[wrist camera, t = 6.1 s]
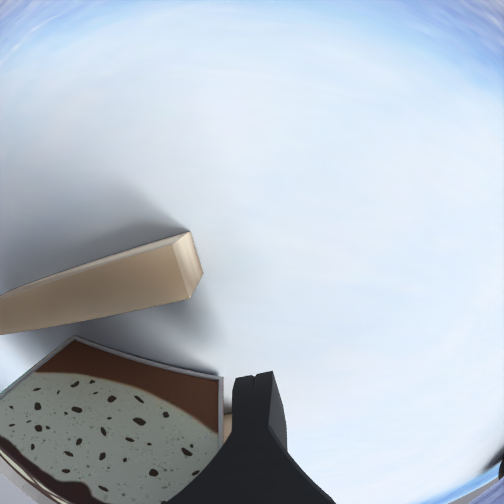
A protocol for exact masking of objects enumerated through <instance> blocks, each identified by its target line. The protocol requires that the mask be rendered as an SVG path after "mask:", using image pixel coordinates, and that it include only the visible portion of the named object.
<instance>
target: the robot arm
mask: <svg viewBox="0 0 504 504" xmlns="http://www.w3.org/2000/svg"><path fill="white" fill-rule="evenodd" d="M164 504H336V503H335V502H334V501H333V499H332V498H331V497H330V496H329V495H328V494H326V493H325V492H324V491H323V490H322V489H321V488H320V487H319V486H318V485H316V484H315V483H314V482H313V481H312V480H311V479H310V478H309V477H308V475H307V474H306V473H305V472H304V471H303V470H302V469H301V468H300V467H299V465H298V464H297V463H296V462H295V461H294V459H293V458H292V457H291V456H290V455H289V453H288V452H287V428H286V421H285V415H284V409H283V404H282V401H281V397H280V394H279V391H278V387H277V384H276V381H275V377H274V374H273V371H270V372H265V373H260V374H257V375H256V376H255V377H254V376H252V375H250V376H244V377H239V378H236V380H235V383H234V386H233V390H232V430H231V433H230V435H229V436H228V438H227V439H226V441H225V442H224V444H223V445H222V447H221V448H220V450H219V451H218V452H217V454H216V455H215V456H214V457H213V459H212V460H211V461H210V462H209V464H208V465H207V466H206V467H205V468H204V469H203V470H202V471H201V472H200V473H199V474H198V475H197V476H196V477H195V478H194V479H193V480H192V481H191V482H190V483H189V484H188V485H187V486H186V487H185V488H183V489H182V490H181V491H180V492H179V493H177V494H176V495H175V496H173V497H172V498H171V499H169V500H168V501H166V502H165V503H164ZM468 504H504V477H503V478H501V479H500V480H499V481H498V482H497V483H495V484H494V485H493V486H491V487H490V488H489V489H488V490H486V491H485V492H484V493H482V494H481V495H480V496H478V497H477V498H475V499H474V500H472V501H471V502H469V503H468Z"/></svg>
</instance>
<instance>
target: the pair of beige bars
mask: <svg viewBox="0 0 504 504" xmlns="http://www.w3.org/2000/svg"><path fill="white" fill-rule="evenodd" d="M202 275H203V271H202V268H201V264H200V261H199V258H198V255H197V252H196V248H195V245H194V242H193V238H192V235H191V232H190V231H189V232H186V233H182V234H179V235H176V236H172V237H169V238H165V239H162V240H159V241H155V242H152V243H149V244H145V245H142V246H139V247H136V248H132V249H129V250H126V251H123V252H120V253H117V254H113V255H110V256H107V257H104V258H101V259H98V260H95V261H92V262H89V263H86V264H83V265H80V266H77V267H74V268H71V269H68V270H65V271H62V272H60V273H57V274H54V275H51V276H48V277H45V278H43V279H40V280H37V281H34V282H32V283H29V284H26V285H24V286H21V287H18V288H16V289H13V290H10V291H8V292H6V293H4V294H2V295H0V335H4V334H11V333H17V332H23V331H30V330H36V329H42V328H47V327H53V326H59V325H64V324H70V323H75V322H81V321H86V320H91V319H96V318H102V317H107V316H112V315H117V314H122V313H126V312H131V311H136V310H141V309H145V308H150V307H155V306H159V305H164V304H168V303H173V302H177V301H182V300H186V299H190V298H191V296H192V294H193V292H194V290H195V288H196V286H197V284H198V282H199V281H200V279H201V277H202ZM223 429H224V442H225V441H226V439H227V438H228V436H229V435H230V433H231V430H232V414H227V415H223Z"/></svg>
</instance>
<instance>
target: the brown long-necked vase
mask: <svg viewBox="0 0 504 504" xmlns="http://www.w3.org/2000/svg"><path fill="white" fill-rule="evenodd" d="M498 477H499V480H500V479H501V478H503V477H504V458H503V460H502V462H501V464H500V468H499V475H498Z"/></svg>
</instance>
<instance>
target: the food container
mask: <svg viewBox="0 0 504 504" xmlns="http://www.w3.org/2000/svg"><path fill="white" fill-rule="evenodd" d="M223 444H224V429H223V377H219V376H214V375H209V374H204V373H199V372H194V371H190V370H185V369H181V368H177V367H173V366H168V365H165V364H161V363H157V362H153V361H150V360H146V359H142V358H139V357H136V356H132V355H129V354H126V353H123V352H119V351H116V350H113V349H110V348H107V347H104V346H102V345H99V344H96V343H93V342H90V341H88V340H85V339H82V338H80V337H77V336H75V335H73V336H72V337H71V338H69V339H68V340H67V341H65V342H64V343H63V344H61V345H60V346H59V347H57V348H56V349H55V350H54V351H52V352H51V353H50V354H48V355H47V356H46V357H45V358H43V359H42V360H41V361H39V362H38V363H37V364H36V365H34V366H33V367H32V368H31V369H29V370H28V371H27V372H26V373H24V374H23V375H22V376H21V377H19V378H18V379H17V380H16V381H15V382H13V383H12V384H11V385H10V386H8V387H7V388H6V389H5V390H4V391H2V392H1V393H0V472H1V473H2V474H3V475H4V476H5V477H6V478H7V479H8V480H9V481H10V482H12V483H13V484H14V485H15V486H16V487H17V488H19V489H20V490H21V491H22V492H23V493H25V494H26V495H27V496H29V497H30V498H31V499H32V500H34V501H35V502H37V503H38V504H164V503H165V502H166V501H168V500H169V499H171V498H172V497H173V496H175V495H176V494H177V493H179V492H180V491H181V490H182V489H183V488H185V487H186V486H187V485H188V484H189V483H190V482H191V481H192V480H193V479H194V478H195V477H196V476H197V475H198V474H199V473H200V472H201V471H202V470H203V469H204V468H205V467H206V466H207V465H208V464H209V462H210V461H211V460H212V459H213V457H214V456H215V455H216V454H217V452H218V451H219V450H220V448H221V447H222V445H223Z"/></svg>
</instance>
